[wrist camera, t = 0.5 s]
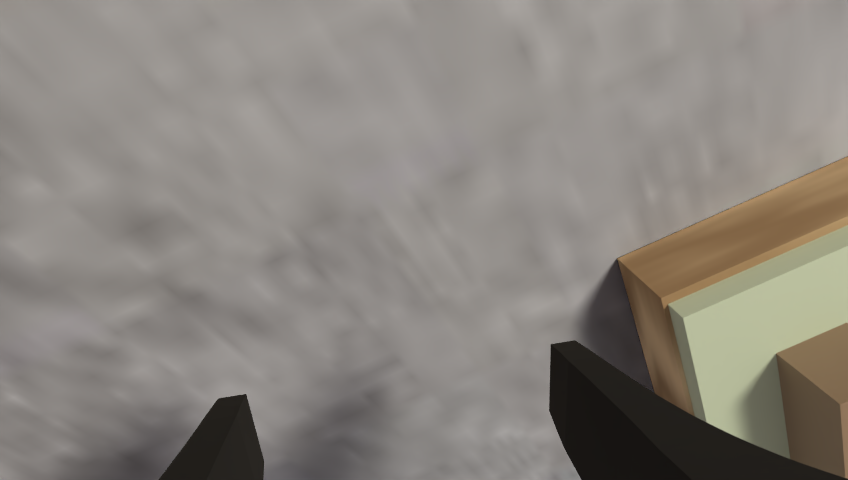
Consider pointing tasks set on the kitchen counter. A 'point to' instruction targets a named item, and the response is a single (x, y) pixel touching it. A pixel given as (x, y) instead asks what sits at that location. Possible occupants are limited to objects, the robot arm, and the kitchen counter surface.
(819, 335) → the lid
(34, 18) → the kitchen counter surface
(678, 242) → the wooden slab
